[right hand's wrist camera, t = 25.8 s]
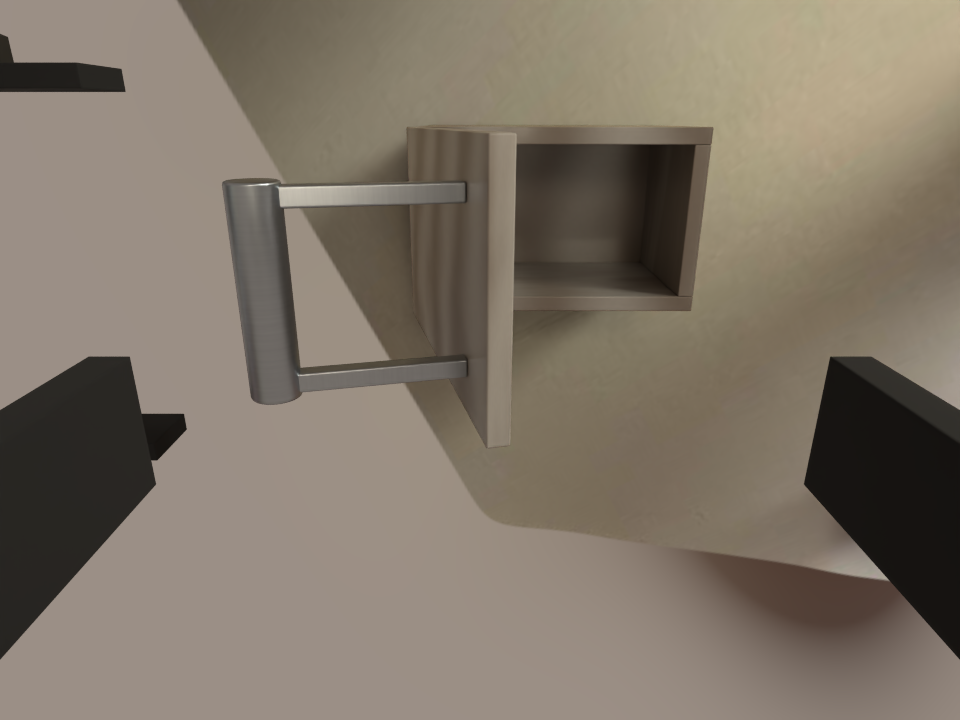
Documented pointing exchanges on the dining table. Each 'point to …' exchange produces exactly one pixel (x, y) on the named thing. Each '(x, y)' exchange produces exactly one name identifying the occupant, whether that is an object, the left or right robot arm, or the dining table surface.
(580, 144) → the chest
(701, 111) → the dining table surface
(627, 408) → the dining table surface
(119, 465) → the right robot arm
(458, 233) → the lid
